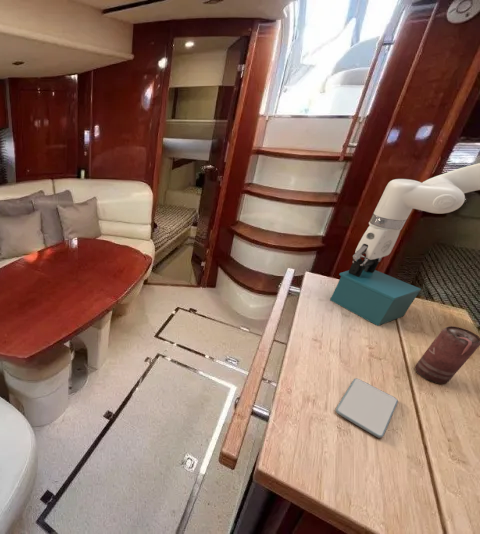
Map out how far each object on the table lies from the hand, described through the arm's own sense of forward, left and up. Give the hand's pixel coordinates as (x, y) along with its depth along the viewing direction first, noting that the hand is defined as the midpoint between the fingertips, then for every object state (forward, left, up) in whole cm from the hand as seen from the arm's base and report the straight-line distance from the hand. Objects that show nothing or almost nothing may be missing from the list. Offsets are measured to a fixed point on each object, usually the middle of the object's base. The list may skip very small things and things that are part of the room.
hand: (360, 272), depth 101 cm
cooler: (0, +6, -11) cm, 12 cm away
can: (+15, +30, -11) cm, 35 cm away
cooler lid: (0, +5, -1) cm, 5 cm away
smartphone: (+40, +30, -11) cm, 51 cm away
